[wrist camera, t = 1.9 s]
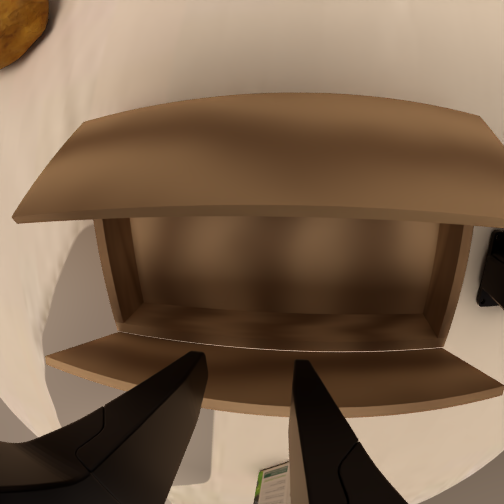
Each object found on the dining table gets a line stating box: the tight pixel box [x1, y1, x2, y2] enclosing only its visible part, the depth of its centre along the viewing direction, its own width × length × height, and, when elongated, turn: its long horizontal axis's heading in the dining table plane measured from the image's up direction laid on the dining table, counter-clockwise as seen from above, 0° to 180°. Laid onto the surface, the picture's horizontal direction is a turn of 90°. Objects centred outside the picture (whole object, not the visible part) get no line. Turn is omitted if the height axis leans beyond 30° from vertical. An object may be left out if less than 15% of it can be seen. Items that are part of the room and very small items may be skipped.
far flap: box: [45, 332, 504, 418], centre depth 15 cm, size 8×24×1 cm
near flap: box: [12, 93, 504, 228], centre depth 11 cm, size 8×24×1 cm
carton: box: [93, 216, 474, 351], centre depth 18 cm, size 24×15×4 cm, turn 92°
